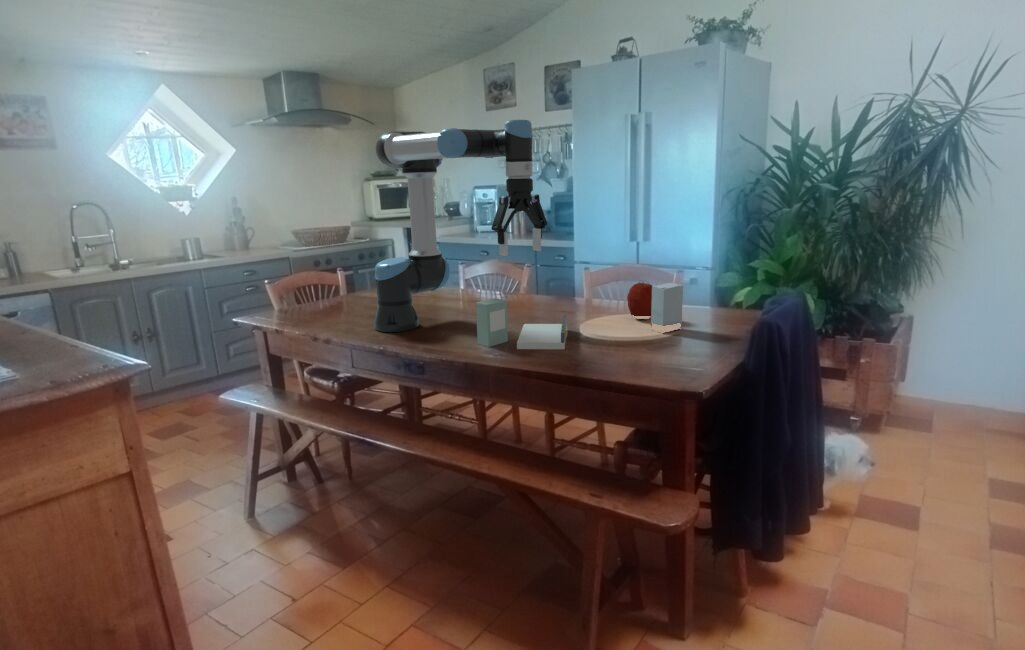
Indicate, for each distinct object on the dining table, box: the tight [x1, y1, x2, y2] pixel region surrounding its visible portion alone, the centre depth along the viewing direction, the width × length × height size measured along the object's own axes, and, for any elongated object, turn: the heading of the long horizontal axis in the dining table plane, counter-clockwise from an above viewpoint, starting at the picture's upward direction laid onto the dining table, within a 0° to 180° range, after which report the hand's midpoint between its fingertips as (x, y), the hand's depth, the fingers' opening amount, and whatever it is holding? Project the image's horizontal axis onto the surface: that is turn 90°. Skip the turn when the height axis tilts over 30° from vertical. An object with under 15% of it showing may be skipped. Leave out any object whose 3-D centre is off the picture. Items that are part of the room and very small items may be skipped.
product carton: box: [475, 297, 509, 348], centre depth 181 cm, size 5×8×13 cm, turn 133°
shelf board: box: [516, 314, 568, 350], centre depth 184 cm, size 15×22×5 cm, turn 173°
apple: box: [626, 282, 654, 316], centre depth 203 cm, size 10×10×14 cm
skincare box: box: [650, 282, 684, 326], centre depth 188 cm, size 8×6×15 cm
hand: (520, 253), depth 172 cm, fingers open, 13 cm apart
